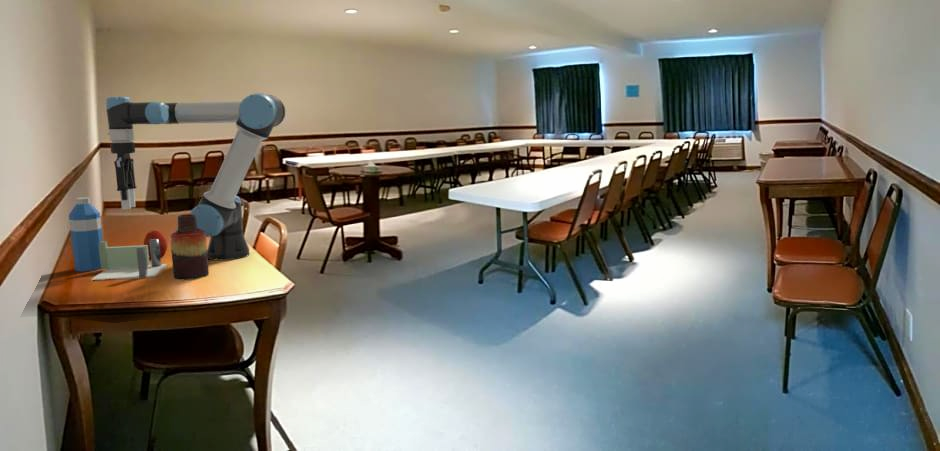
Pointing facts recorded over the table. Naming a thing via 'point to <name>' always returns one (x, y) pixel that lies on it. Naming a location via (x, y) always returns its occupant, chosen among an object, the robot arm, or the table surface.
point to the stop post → (141, 262)
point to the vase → (189, 249)
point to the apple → (161, 241)
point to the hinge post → (155, 252)
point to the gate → (120, 256)
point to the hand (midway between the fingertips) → (128, 207)
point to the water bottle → (85, 235)
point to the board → (128, 272)
